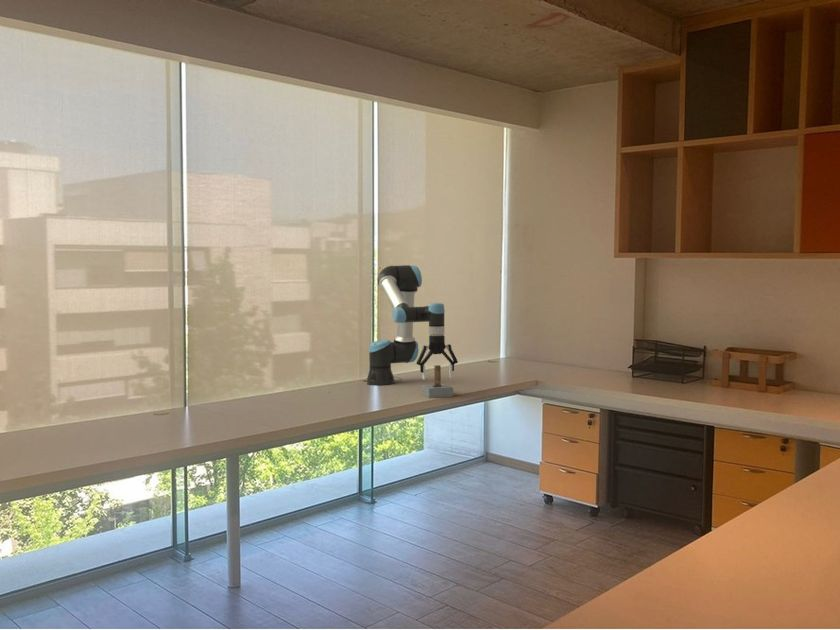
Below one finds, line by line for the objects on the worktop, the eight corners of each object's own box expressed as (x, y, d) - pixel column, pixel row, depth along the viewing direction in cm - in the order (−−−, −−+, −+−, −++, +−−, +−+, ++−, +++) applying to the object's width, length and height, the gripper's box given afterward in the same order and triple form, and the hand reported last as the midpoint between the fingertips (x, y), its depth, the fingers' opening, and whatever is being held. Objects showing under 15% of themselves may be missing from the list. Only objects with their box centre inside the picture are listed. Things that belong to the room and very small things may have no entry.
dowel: (434, 394, 370) (433, 365, 369) (439, 393, 370) (439, 365, 370) (435, 395, 367) (435, 366, 366) (441, 394, 368) (441, 365, 367)
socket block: (422, 394, 373) (422, 385, 373) (446, 392, 376) (445, 383, 376) (429, 397, 361) (428, 388, 361) (453, 396, 364) (453, 387, 364)
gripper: (413, 336, 360) (414, 380, 362) (463, 334, 367) (464, 378, 368) (410, 335, 368) (410, 378, 369) (459, 333, 374) (459, 376, 375)
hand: (437, 378), depth 368 cm, fingers open, 13 cm apart
